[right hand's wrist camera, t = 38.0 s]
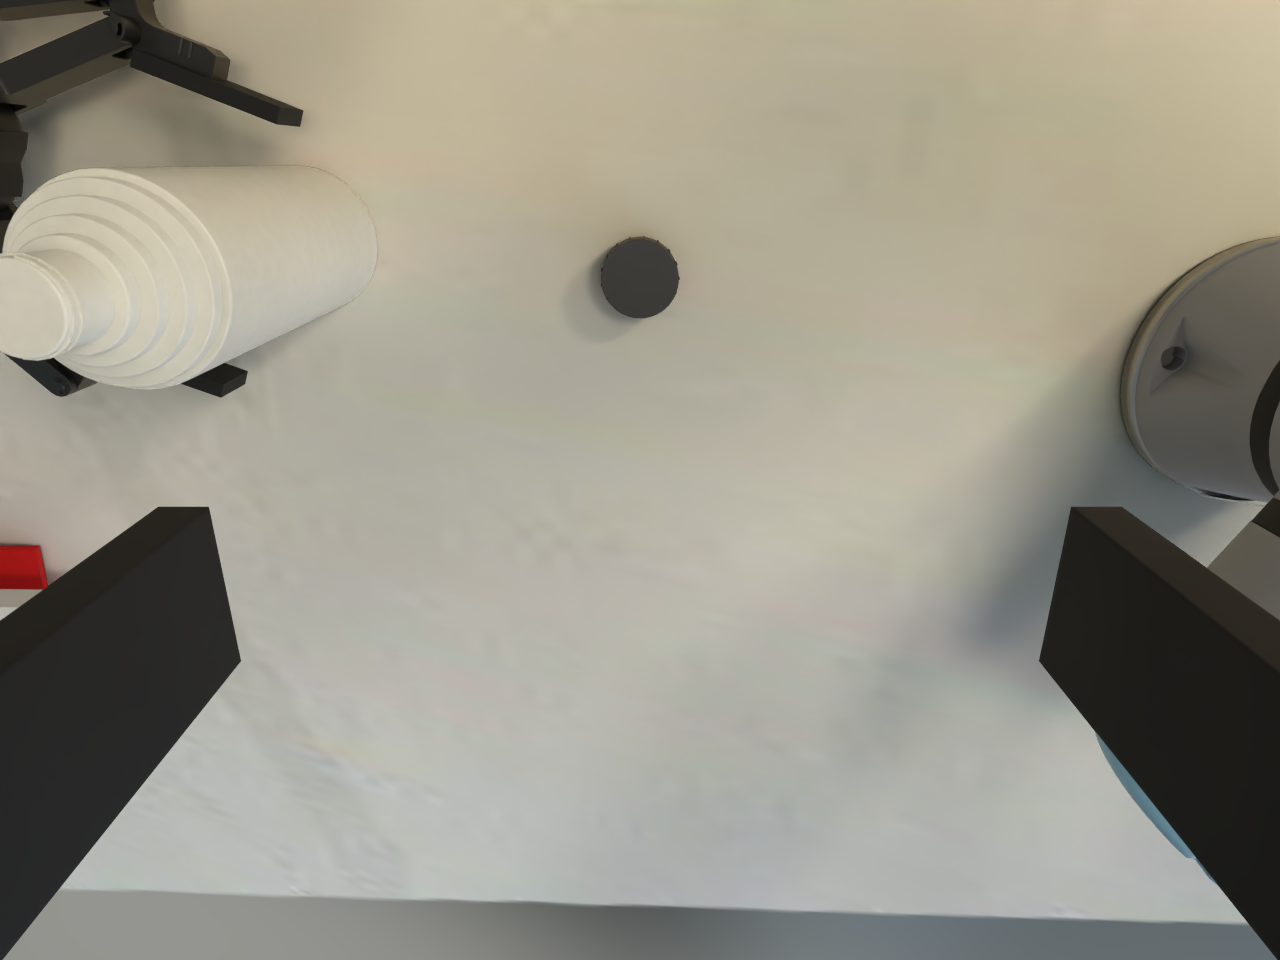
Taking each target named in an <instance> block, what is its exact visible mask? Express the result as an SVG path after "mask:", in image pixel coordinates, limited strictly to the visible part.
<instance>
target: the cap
mask: <svg viewBox="0 0 1280 960" xmlns="http://www.w3.org/2000/svg"><path fill="white" fill-rule="evenodd" d="M601 271H602V284H601V286H602V288H603V291H604V294H605V296H606V299H607V300H608V301H609V303H610V304H611V305H612V306H613V307H614V308H615V309H616V310H617V311H619V312H620V313H622V314H624V315H626V316H629V317H633V318H647V317H651V316H654V315H656V314H658V313H660V312H662V311H663V310H664V309H665V308H666V307H667V306H669V304H670V303H671V302H672V300H673V298H674V297H675V294H676V293H677V288H678V283H679V280H680V278H679V275H678V269H677V262H675V260H674V258H673V256H672V254H671V253H670V250H669V249H667V248H666V247H665V246H664V245H662V244H661V243H659V241H658V240H657V241H656V240H654V239H650V238H646V237H645V236H643V237H634V238H631V237H629V239H627V240H624V241H623V242H621V243H619V244H618V243H617V244H616V246H615V247H614V248H613V249H612V251H611V252H610V253H609V254H607V256H606V261H605V263H604V266H603V267H602V270H601Z"/></svg>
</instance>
